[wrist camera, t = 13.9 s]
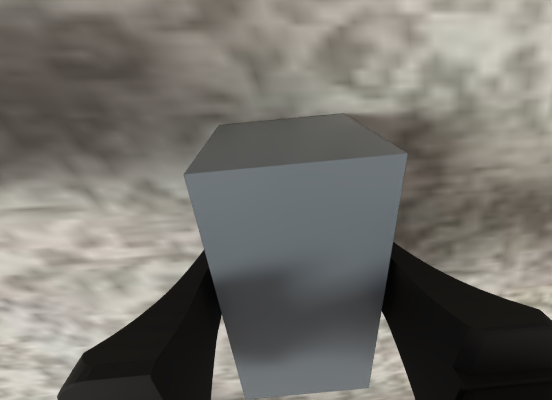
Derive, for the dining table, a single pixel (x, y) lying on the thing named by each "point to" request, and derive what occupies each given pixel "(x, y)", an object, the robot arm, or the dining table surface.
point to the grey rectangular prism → (298, 247)
